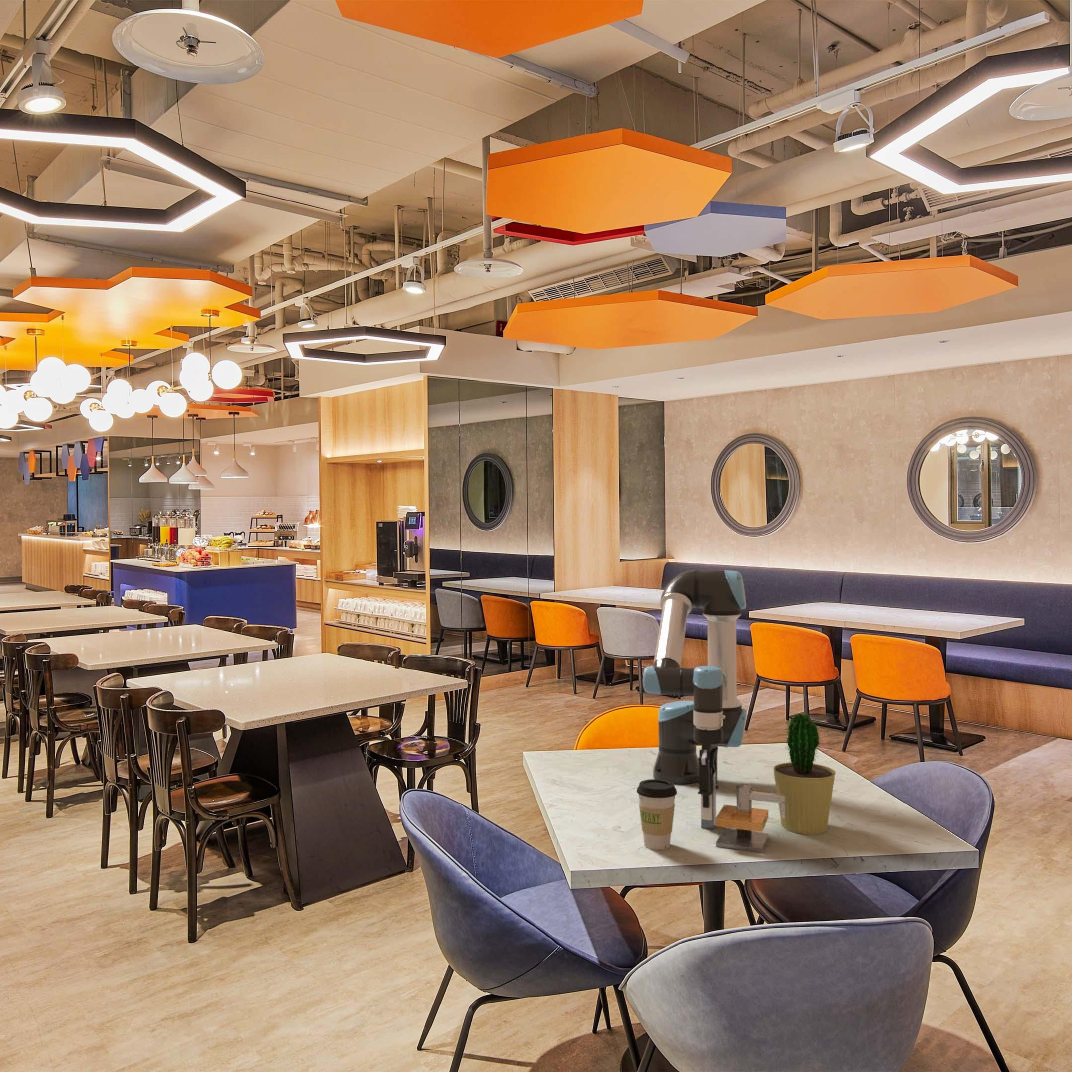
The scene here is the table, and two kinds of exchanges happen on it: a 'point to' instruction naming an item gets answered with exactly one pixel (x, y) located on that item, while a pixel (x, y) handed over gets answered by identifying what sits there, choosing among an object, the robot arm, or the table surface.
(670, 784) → the coffee cup
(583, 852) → the table surface
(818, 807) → the potted cactus
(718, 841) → the tiered post stand
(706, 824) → the gray rectangular bar
